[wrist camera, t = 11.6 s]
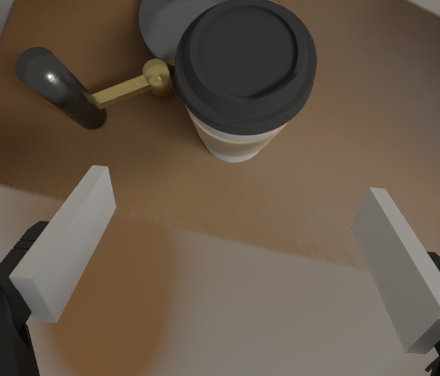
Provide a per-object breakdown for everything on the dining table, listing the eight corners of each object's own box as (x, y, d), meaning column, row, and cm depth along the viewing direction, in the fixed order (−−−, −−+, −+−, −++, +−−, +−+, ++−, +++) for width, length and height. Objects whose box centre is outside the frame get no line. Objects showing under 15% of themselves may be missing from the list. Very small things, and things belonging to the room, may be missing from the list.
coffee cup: (176, 117, 31) (138, 18, 17) (248, 77, 32) (272, -54, 17) (220, 189, 30) (220, 151, 15) (293, 145, 31) (360, 69, 16)
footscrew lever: (168, 73, 32) (145, 5, 22) (178, 97, 31) (159, 38, 22) (75, 109, 31) (10, 55, 22) (84, 134, 31) (22, 91, 21)
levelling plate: (281, 14, 33) (285, -1, 31) (239, 102, 32) (240, 93, 29) (153, -39, 34) (149, -58, 32) (107, 44, 33) (98, 31, 30)
